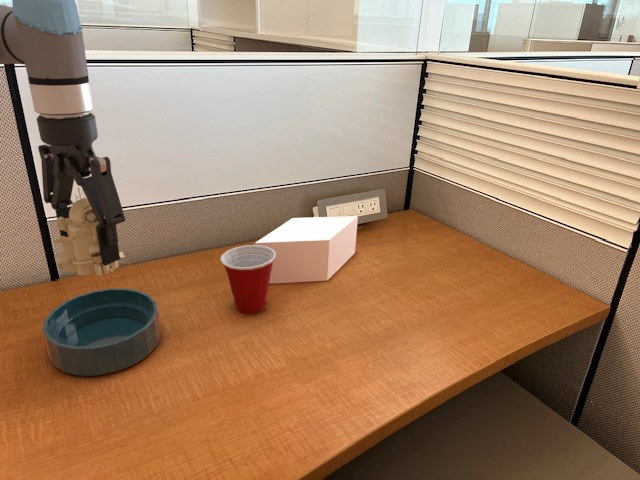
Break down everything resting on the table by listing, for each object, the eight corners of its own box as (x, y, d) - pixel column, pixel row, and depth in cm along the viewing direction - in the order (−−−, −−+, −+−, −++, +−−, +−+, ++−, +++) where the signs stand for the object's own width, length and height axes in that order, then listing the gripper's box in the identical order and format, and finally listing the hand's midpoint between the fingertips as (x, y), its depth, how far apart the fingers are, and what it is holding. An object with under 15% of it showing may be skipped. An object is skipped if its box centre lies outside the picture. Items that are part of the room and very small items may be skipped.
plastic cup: (245, 287, 105) (244, 237, 100) (286, 302, 100) (287, 251, 95) (211, 309, 97) (208, 257, 92) (254, 327, 92) (252, 273, 87)
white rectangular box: (240, 271, 112) (238, 230, 107) (337, 242, 128) (339, 206, 123) (273, 299, 101) (273, 256, 97) (374, 264, 117) (378, 226, 113)
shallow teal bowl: (27, 351, 83) (19, 323, 80) (117, 304, 97) (112, 278, 94) (94, 394, 74) (88, 363, 72) (181, 335, 89) (179, 308, 86)
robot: (62, 286, 73) (42, 193, 67) (55, 264, 79) (36, 177, 73) (133, 270, 79) (120, 182, 72) (121, 250, 85) (108, 168, 78)
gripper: (139, 120, 66) (156, 263, 76) (45, 100, 76) (70, 229, 86) (91, 129, 60) (115, 282, 70) (-4, 106, 70) (29, 243, 80)
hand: (91, 253), depth 78 cm, fingers closed on robot, 9 cm apart
